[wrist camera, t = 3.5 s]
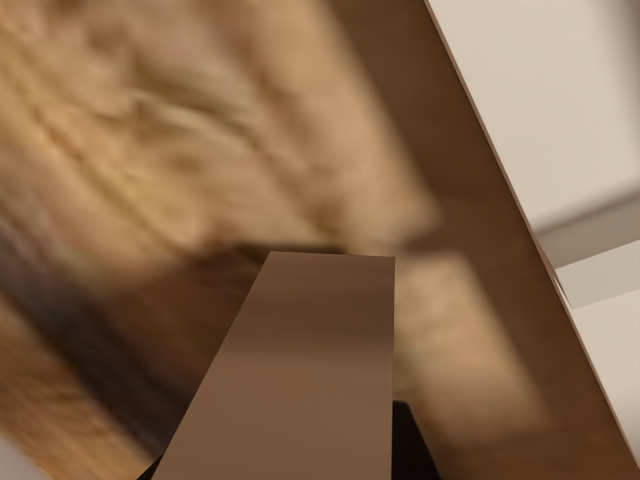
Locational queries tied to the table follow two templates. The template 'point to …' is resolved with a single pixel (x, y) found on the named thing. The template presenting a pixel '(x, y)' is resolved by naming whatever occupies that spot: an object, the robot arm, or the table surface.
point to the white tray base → (567, 157)
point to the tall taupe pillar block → (298, 378)
